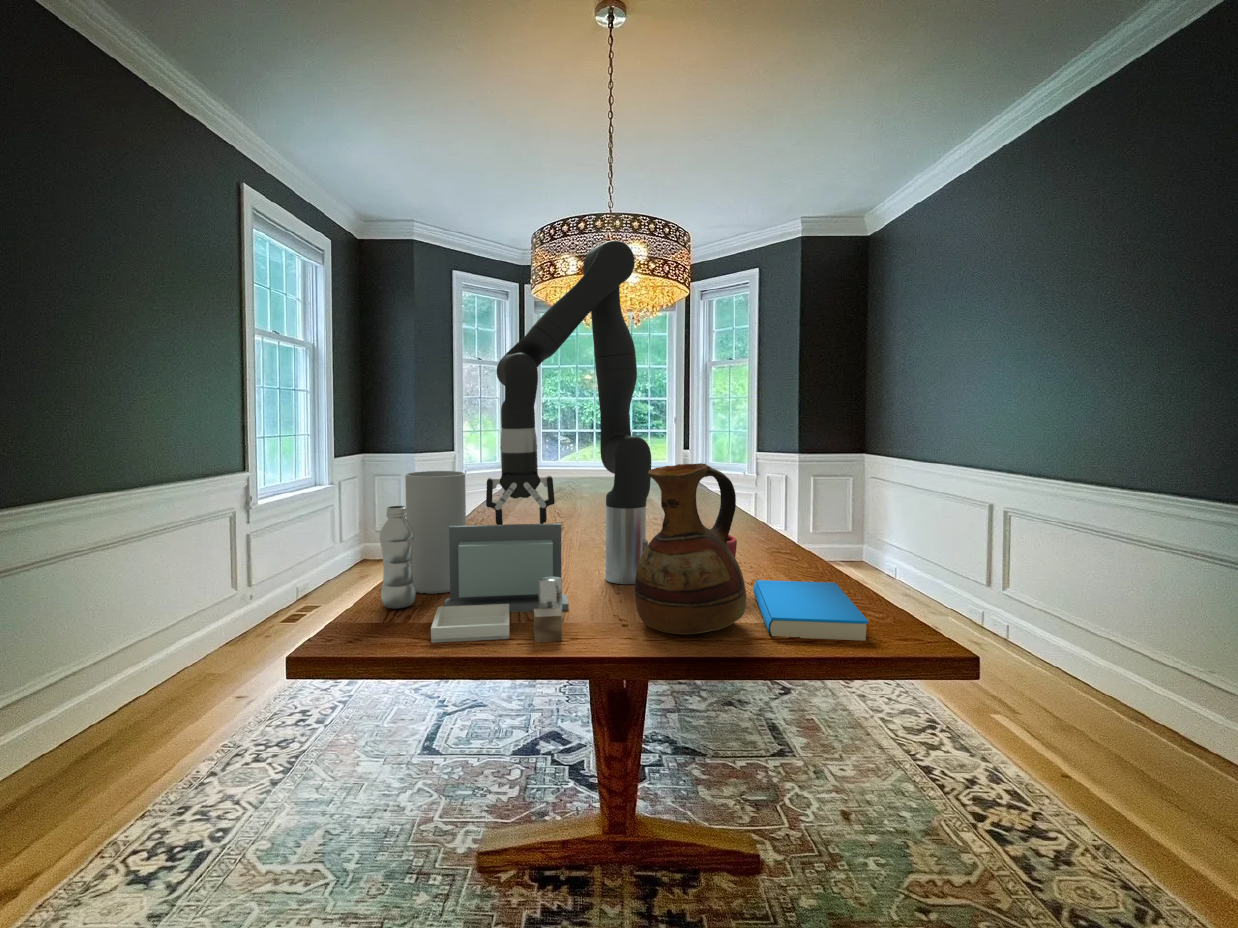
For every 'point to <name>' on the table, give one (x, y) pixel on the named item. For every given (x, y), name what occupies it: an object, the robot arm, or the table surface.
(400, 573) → the plastic bottle
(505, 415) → the robot arm
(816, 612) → the book
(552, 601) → the steel cylinder
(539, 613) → the walnut block
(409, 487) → the cylinder vase
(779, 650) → the table surface
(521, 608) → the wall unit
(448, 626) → the tray
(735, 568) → the ceramic pitcher
